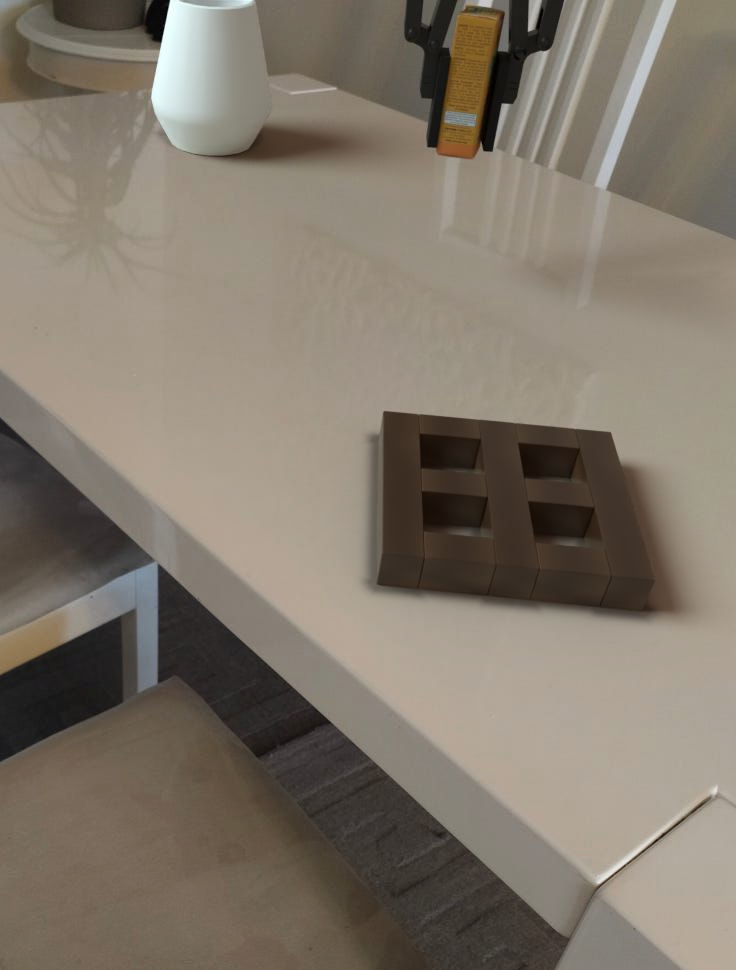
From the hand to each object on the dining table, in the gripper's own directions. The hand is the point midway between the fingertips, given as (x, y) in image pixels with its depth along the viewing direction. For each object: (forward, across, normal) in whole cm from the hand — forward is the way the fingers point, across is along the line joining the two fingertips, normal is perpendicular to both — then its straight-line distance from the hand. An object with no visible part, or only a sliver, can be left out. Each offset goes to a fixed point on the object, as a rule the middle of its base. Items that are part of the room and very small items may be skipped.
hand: (459, 143), depth 79 cm
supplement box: (+1, 0, 0) cm, 1 cm away
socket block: (+12, +3, -36) cm, 38 cm away
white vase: (+11, -24, +31) cm, 41 cm away
